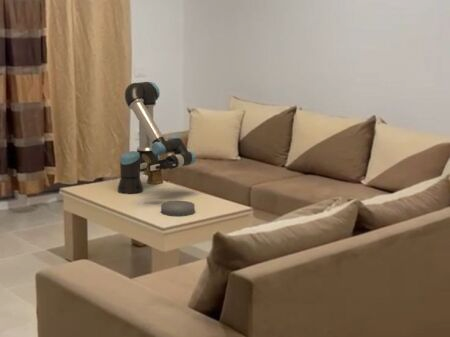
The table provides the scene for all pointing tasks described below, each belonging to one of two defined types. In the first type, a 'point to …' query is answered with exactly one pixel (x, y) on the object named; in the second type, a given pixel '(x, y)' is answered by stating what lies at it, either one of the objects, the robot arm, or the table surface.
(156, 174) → the wooden mug
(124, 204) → the table surface
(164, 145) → the robot arm
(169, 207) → the charcoal plinth
